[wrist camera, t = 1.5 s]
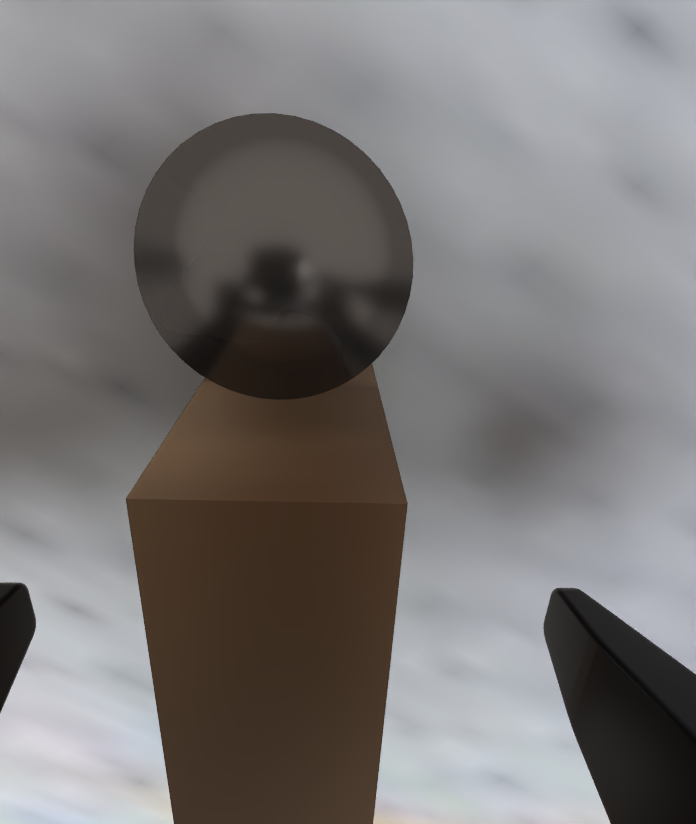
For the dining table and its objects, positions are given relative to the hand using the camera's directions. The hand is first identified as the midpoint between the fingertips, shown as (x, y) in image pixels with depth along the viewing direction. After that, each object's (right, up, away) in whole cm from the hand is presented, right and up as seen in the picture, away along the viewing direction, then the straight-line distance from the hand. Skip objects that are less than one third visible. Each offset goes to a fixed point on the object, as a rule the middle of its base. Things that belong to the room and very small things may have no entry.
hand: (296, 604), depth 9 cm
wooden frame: (0, -2, +6) cm, 6 cm away
